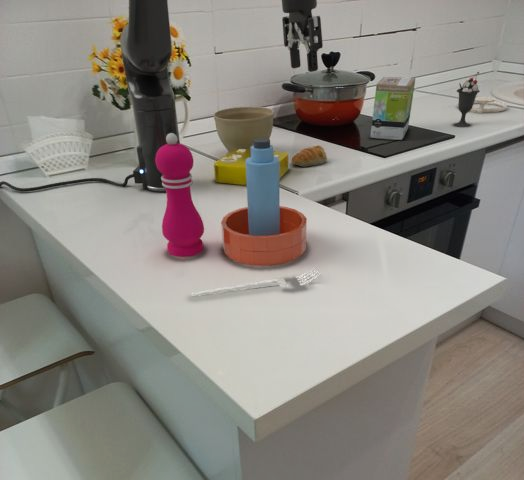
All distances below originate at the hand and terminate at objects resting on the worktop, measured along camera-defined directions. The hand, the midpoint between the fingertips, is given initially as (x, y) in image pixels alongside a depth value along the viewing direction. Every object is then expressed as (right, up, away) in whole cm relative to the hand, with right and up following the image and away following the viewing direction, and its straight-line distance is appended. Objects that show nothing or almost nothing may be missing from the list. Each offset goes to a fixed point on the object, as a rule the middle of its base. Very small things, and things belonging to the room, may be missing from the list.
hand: (304, 69), depth 116 cm
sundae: (+54, +7, +44) cm, 71 cm away
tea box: (+30, +1, +38) cm, 48 cm away
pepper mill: (-23, -48, -27) cm, 60 cm away
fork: (-11, -56, -39) cm, 69 cm away
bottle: (-9, -47, -27) cm, 55 cm away
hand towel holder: (+69, +21, +63) cm, 96 cm away
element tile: (-12, -22, +8) cm, 27 cm away
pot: (-9, -48, -27) cm, 56 cm away
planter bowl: (-14, -11, +23) cm, 30 cm away
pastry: (+3, -16, +15) cm, 22 cm away
